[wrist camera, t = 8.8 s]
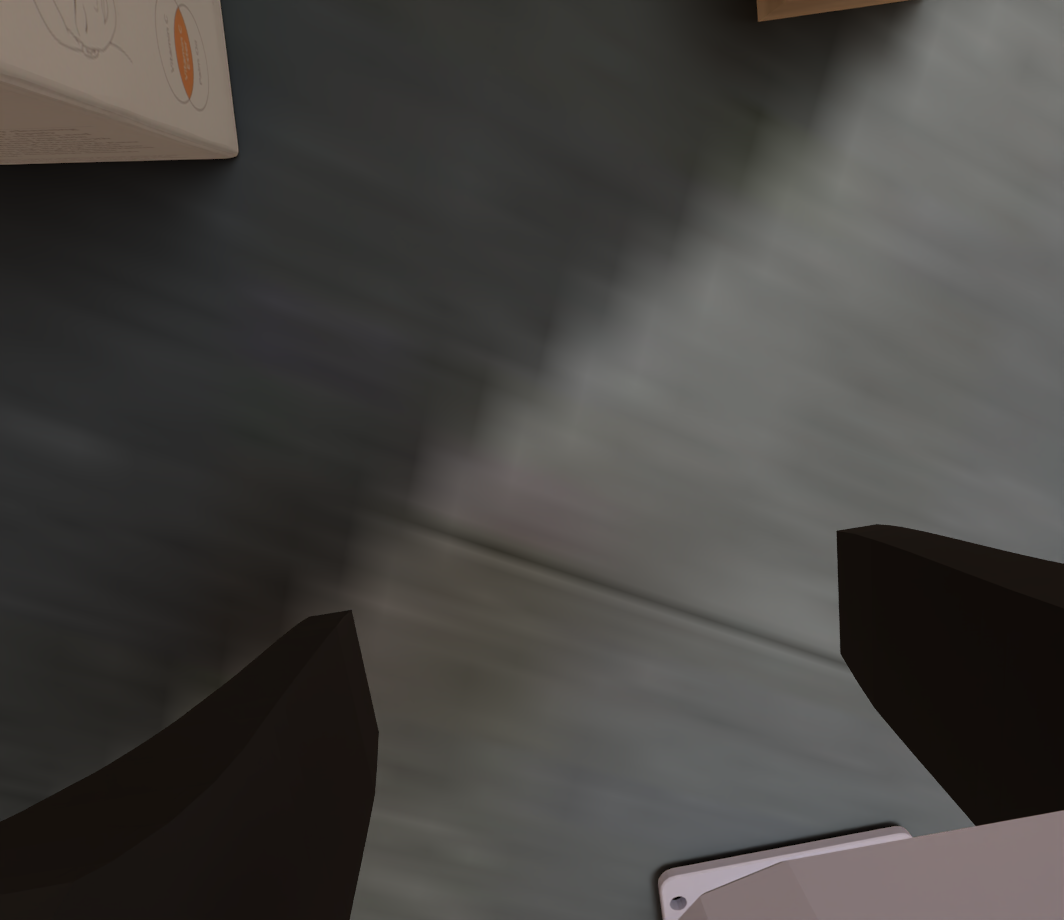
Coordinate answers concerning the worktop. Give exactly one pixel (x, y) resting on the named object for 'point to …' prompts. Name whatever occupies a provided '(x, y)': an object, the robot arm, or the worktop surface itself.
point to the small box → (114, 81)
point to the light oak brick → (808, 7)
